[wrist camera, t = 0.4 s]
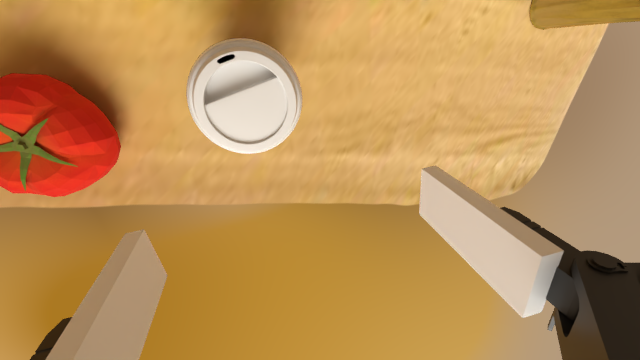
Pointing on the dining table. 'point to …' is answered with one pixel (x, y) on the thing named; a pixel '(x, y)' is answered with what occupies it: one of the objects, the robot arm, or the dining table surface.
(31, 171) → the tomato
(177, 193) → the dining table surface
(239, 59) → the coffee cup
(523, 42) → the dining table surface
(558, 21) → the vase
